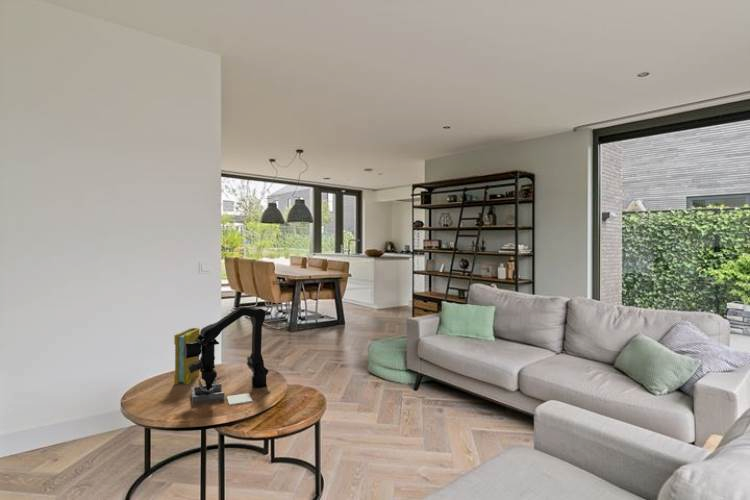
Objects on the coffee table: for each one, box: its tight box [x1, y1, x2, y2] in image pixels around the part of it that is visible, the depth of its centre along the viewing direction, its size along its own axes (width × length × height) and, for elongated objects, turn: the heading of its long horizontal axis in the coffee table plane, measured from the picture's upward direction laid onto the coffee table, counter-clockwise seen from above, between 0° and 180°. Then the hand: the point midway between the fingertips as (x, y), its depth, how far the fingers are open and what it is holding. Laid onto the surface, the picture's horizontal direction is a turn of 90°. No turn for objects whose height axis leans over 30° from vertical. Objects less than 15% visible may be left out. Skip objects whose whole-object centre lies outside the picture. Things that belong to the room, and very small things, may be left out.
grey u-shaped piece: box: [190, 382, 225, 406], centre depth 191 cm, size 13×13×4 cm
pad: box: [226, 392, 253, 406], centre depth 188 cm, size 10×10×1 cm
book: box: [173, 327, 201, 385], centre depth 215 cm, size 17×7×25 cm, turn 179°
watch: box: [197, 376, 218, 395], centre depth 190 cm, size 6×8×11 cm
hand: (207, 387), depth 191 cm, fingers open, 7 cm apart
